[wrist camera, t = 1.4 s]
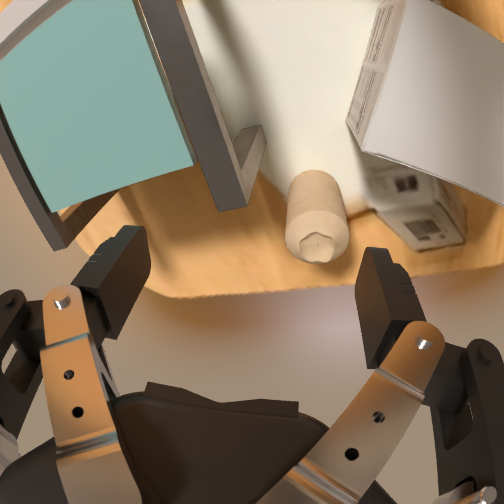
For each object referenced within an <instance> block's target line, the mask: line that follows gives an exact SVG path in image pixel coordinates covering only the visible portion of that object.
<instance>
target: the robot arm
mask: <svg viewBox="0 0 504 504" xmlns="http://www.w3.org/2000/svg"><path fill="white" fill-rule="evenodd" d="M150 270H151V258H150V253H149V247H148V241H147V235H146V230H145V228H144V227H143V226H131V225H124V226H123V227H122V228H121V229H120V231H119V232H118V233H117V234H116V236H115V237H111V238H109V239H108V240H106V241H105V242H103V243H102V244H100V246H99V247H98V248H97V249H96V251H95V252H94V255H92V256H91V257H90V259H89V261H88V262H86V264H85V265H84V266H83V268H82V269H81V270H80V272H79V273H78V274H77V276H76V277H75V278H74V280H73V281H72V282H71V284H70V285H62V286H59V287H56V288H54V289H53V290H51V291H50V292H49V293H48V294H47V295H46V296H45V298H44V300H37V301H27V299H26V297H25V295H24V293H23V292H22V291H20V290H17V289H14V290H9V291H7V292H5V293H3V294H1V295H0V504H397V503H396V502H395V501H394V500H393V499H392V498H391V497H390V496H389V495H388V493H386V491H385V490H384V489H383V488H382V487H381V486H380V485H379V483H378V482H377V481H376V480H375V478H376V477H377V475H378V474H379V473H380V471H381V470H382V468H383V467H384V465H385V464H386V462H387V461H388V459H389V458H390V456H391V454H392V453H393V452H394V450H395V448H396V447H397V445H398V443H399V442H400V440H401V439H402V437H403V435H404V434H405V432H406V430H407V428H408V427H409V425H410V423H411V422H412V420H413V418H414V416H415V414H416V413H417V411H418V409H419V407H420V405H421V404H423V405H427V406H430V410H431V417H432V424H433V432H434V439H435V449H436V459H437V470H438V485H439V486H438V487H439V497H438V498H437V499H435V501H434V502H433V503H432V504H504V363H503V360H502V357H501V355H500V352H499V351H498V349H497V348H496V347H495V346H494V345H493V344H492V343H490V342H489V341H487V340H484V339H475V340H473V341H471V342H470V343H469V345H468V346H467V348H462V347H459V346H456V345H452V344H449V343H446V342H445V340H444V336H443V335H442V333H441V332H440V331H439V329H438V328H436V327H435V326H434V325H432V324H430V323H428V322H427V321H426V319H425V316H424V313H423V310H422V308H421V305H420V302H419V300H418V297H417V295H416V294H415V289H414V287H413V285H412V282H411V279H410V277H409V274H408V273H407V272H406V270H405V269H404V268H403V267H402V266H401V265H400V264H397V263H393V261H392V258H391V256H390V253H389V251H388V249H386V248H376V247H366V249H365V251H364V255H363V258H362V262H361V266H360V269H359V273H358V276H357V279H356V284H355V299H356V305H357V310H358V316H359V321H360V327H361V332H362V338H363V344H364V351H365V357H366V364H367V369H376V370H375V371H374V372H373V374H372V375H371V377H370V378H369V379H368V381H367V382H366V383H365V385H364V386H363V387H362V389H361V390H360V392H359V393H358V394H357V396H356V397H355V398H354V399H353V401H352V402H351V403H350V404H349V406H348V407H347V408H346V410H345V411H344V412H343V413H342V414H341V416H340V417H339V418H338V419H337V420H336V422H335V423H334V424H333V425H332V426H331V428H329V427H328V426H326V425H325V424H323V423H322V422H320V421H319V420H317V419H315V418H313V417H311V416H308V415H306V414H303V413H300V412H298V406H299V402H296V401H281V400H269V399H254V400H245V401H236V402H225V403H219V402H215V401H213V400H210V399H208V398H205V397H202V396H200V395H198V394H195V393H193V392H190V391H188V390H185V389H183V388H178V387H173V386H168V385H162V384H157V383H153V382H148V383H147V385H146V388H145V391H144V392H134V393H129V394H125V395H122V396H120V394H119V392H118V390H117V387H116V384H115V382H114V379H113V376H112V373H111V370H110V367H109V363H108V360H107V357H106V354H105V351H104V348H103V345H102V342H103V340H104V338H110V339H115V340H117V338H118V335H119V334H120V331H121V330H122V327H123V325H124V323H125V321H126V319H127V317H128V315H129V314H130V312H131V309H132V308H133V306H134V303H135V302H136V300H137V298H138V296H139V294H140V292H141V290H142V288H143V286H144V284H145V283H146V281H147V279H148V277H149V274H150ZM11 344H13V345H14V347H15V348H16V350H17V351H16V353H15V355H14V357H13V358H12V360H11V362H10V364H9V366H8V367H7V369H6V371H5V373H4V374H3V372H2V368H1V365H2V360H3V358H4V356H5V354H6V353H7V351H8V349H9V347H10V346H11ZM42 378H43V381H44V387H45V393H46V399H47V405H48V410H49V415H50V420H51V424H52V429H53V433H54V437H53V438H51V439H49V440H48V441H46V442H45V443H43V444H42V445H40V446H38V447H36V448H35V449H33V450H32V451H30V452H28V453H27V454H25V455H24V456H22V457H21V455H20V453H19V452H18V443H17V438H18V435H19V433H20V430H21V428H22V425H23V422H24V420H25V418H26V415H27V413H28V410H29V408H30V406H31V403H32V401H33V399H34V396H35V394H36V392H37V389H38V387H39V385H40V383H41V380H42ZM469 403H470V405H469ZM470 407H471V409H470ZM471 411H472V414H471ZM472 416H473V419H472Z"/></svg>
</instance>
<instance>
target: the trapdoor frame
mask: <svg viewBox="0 0 504 504" xmlns="http://www.w3.org/2000/svg"><path fill="white" fill-rule="evenodd" d="M139 1H140V4H141V7H142V10H143V13H144V15H145V18H146V21H147V24H148V26H149V29H150V32H151V35H152V38H153V40H154V43H155V46H156V48H157V51H158V54H159V57H160V59H161V62H162V65H163V67H164V70H165V73H166V76H167V78H168V81H169V84H170V86H171V89H172V92H173V94H174V97H175V100H176V102H177V105H178V108H179V110H180V113H181V116H182V118H183V121H184V124H185V126H186V129H187V131H188V134H189V137H190V139H191V142H192V145H193V147H194V150H195V152H196V155H197V158H198V160H199V163H200V165H201V168H202V171H203V173H204V176H205V178H206V181H207V183H208V186H209V189H210V191H211V194H212V196H213V199H214V201H215V204H216V207H217V209H218V212H222V211H227V210H232V209H237V208H242V207H247V206H248V203H249V200H250V196H251V193H252V190H253V186H254V183H255V179H256V176H257V173H258V169H259V166H260V163H261V159H262V156H263V153H264V150H265V146H266V140H265V137H264V133H263V130H262V127H261V125H258V126H254V127H249V128H245V129H242V130H241V131H240V133H239V134H238V136H237V138H236V139H235V141H234V143H233V144H232V142H231V139H230V137H229V134H228V131H227V128H226V125H225V122H224V119H223V116H222V113H221V110H220V107H219V104H218V102H217V99H216V96H215V93H214V90H213V87H212V84H211V81H210V79H209V76H208V73H207V70H206V67H205V64H204V61H203V59H202V56H201V53H200V50H199V47H198V44H197V42H196V39H195V36H194V33H193V30H192V28H191V25H190V22H189V19H188V16H187V14H186V11H185V8H184V5H183V3H182V0H139ZM0 153H1V156H2V158H3V160H4V162H5V164H6V166H7V168H8V170H9V172H10V174H11V177H12V179H13V181H14V182H15V184H16V186H17V188H18V190H19V192H20V194H21V196H22V198H23V200H24V202H25V203H26V205H27V207H28V209H29V211H30V212H31V214H32V216H33V218H34V219H35V221H36V223H37V225H38V226H39V228H40V230H41V231H42V233H43V235H44V236H45V237H46V240H47V241H48V243H49V244H50V246H51V248H52V249H53V251H57V250H61V249H65V248H67V247H68V246H69V244H70V243H71V242H72V241H73V240H74V239H75V238H76V236H77V235H78V234H79V233H80V232H81V231H82V230H83V228H84V227H85V226H86V225H87V224H88V223H89V222H90V221H91V219H92V218H93V217H94V216H95V215H96V214H97V213H98V212H99V211H100V210H101V209H102V207H103V206H104V205H105V204H106V203H107V202H108V201H109V200H110V199H111V198H112V197H113V196H114V195H115V194H116V193H117V192H118V191H119V190H120V189H121V188H119V189H116V190H113V191H110V192H107V193H104V194H101V195H98V196H96V197H93V198H90V199H87V200H85V201H82V202H79V203H77V204H74V205H71V206H70V207H69V208H68V209H67V210H66V211H65V212H64V213H63V214H62V215H61V216H60V217H59V215H58V213H57V211H56V212H53V213H52V212H51V210H50V209H49V207H48V205H47V203H46V201H45V199H44V198H43V196H42V194H41V192H40V190H39V188H38V186H37V184H36V182H35V180H34V178H33V176H32V174H31V172H30V170H29V168H28V166H27V164H26V162H25V160H24V158H23V156H22V153H21V151H20V149H19V147H18V145H17V142H16V140H15V138H14V136H13V133H12V131H11V129H10V126H9V124H8V121H7V119H6V116H5V114H4V111H3V109H2V106H1V104H0Z"/></svg>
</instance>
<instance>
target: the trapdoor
mask: <svg viewBox="0 0 504 504" xmlns="http://www.w3.org/2000/svg"><path fill="white" fill-rule="evenodd" d="M0 104H1V106H2V109H3V111H4V114H5V116H6V119H7V121H8V124H9V126H10V129H11V131H12V133H13V136H14V138H15V140H16V142H17V145H18V147H19V149H20V151H21V153H22V156H23V158H24V160H25V162H26V164H27V166H28V168H29V170H30V172H31V174H32V176H33V178H34V180H35V182H36V184H37V186H38V188H39V190H40V192H41V194H42V196H43V198H44V199H45V201H46V203H47V205H48V207H49V209H50V210H51V212H52V213H53V212H56V211H58V210H61V209H63V208H66V207H69V206H71V205H74V204H77V203H79V202H82V201H85V200H87V199H90V198H93V197H96V196H98V195H101V194H104V193H107V192H110V191H113V190H116V189H119V188H122V187H125V186H128V185H131V184H134V183H137V182H140V181H143V180H146V179H149V178H153V177H156V176H159V175H162V174H166V173H169V172H173V171H176V170H179V169H183V168H186V167H190V166H194V165H195V163H196V162H197V158H196V156H195V153H194V151H193V148H192V145H191V143H190V140H189V138H188V135H187V132H186V130H185V127H184V124H183V122H182V119H181V117H180V114H179V111H178V109H177V106H176V103H175V101H174V98H173V95H172V93H171V90H170V87H169V85H168V82H167V79H166V77H165V74H164V71H163V69H162V66H161V63H160V60H159V58H158V55H157V52H156V50H155V47H154V44H153V41H152V39H151V36H150V33H149V30H148V28H147V25H146V22H145V19H144V16H143V14H142V11H141V8H140V5H139V3H138V0H13V1H12V2H11V3H10V4H9V5H8V6H7V7H6V8H5V9H4V10H3V11H2V12H1V13H0Z"/></svg>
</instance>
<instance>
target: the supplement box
mask: <svg viewBox="0 0 504 504" xmlns="http://www.w3.org/2000/svg"><path fill="white" fill-rule="evenodd" d="M345 121H346V123H347V124H348V126H349V128H350V129H351V131H352V133H353V135H354V137H355V139H356V141H357V143H358V145H359V147H360V149H361V151H362V152H364V153H367V154H371V155H374V156H377V157H380V158H383V159H386V160H390V161H393V162H396V163H399V164H402V165H405V166H408V167H410V168H413V169H415V170H418V171H421V172H424V173H427V174H430V175H432V176H435V177H437V178H440V179H443V180H445V181H447V182H450V183H452V184H455V185H457V186H459V187H462V188H464V189H467V190H469V191H471V192H473V193H476V194H478V195H480V196H482V197H484V198H487V199H489V200H491V201H493V202H495V203H497V204H499V205H501V206H503V207H504V43H502V42H501V41H500V40H498V39H497V38H495V37H493V36H492V35H490V34H489V33H487V32H486V31H484V30H482V29H481V28H479V27H478V26H476V25H474V24H473V23H471V22H469V21H468V20H466V19H464V18H462V17H461V16H459V15H457V14H455V13H453V12H451V11H449V10H447V9H446V8H444V7H442V6H440V5H438V4H436V3H434V2H431V1H429V0H389V1H387V2H384V3H382V4H380V5H379V6H378V9H377V12H376V16H375V19H374V23H373V27H372V31H371V34H370V38H369V42H368V45H367V49H366V53H365V56H364V60H363V64H362V67H361V71H360V74H359V78H358V81H357V84H356V88H355V91H354V95H353V98H352V101H351V105H350V108H349V111H348V114H347V117H346V120H345Z"/></svg>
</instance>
